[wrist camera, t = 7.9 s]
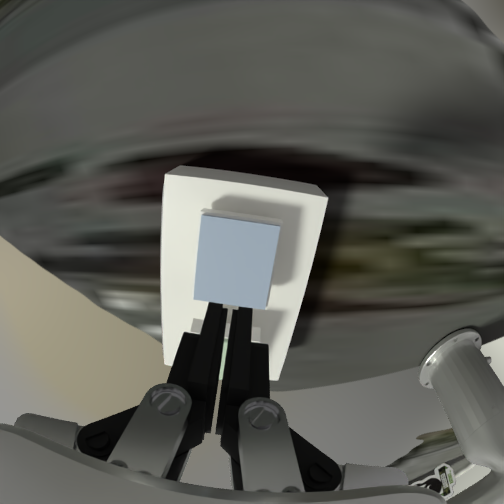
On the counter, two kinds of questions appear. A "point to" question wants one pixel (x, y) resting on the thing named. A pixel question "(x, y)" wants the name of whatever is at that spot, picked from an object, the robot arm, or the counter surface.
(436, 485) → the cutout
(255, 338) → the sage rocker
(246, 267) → the slate rocker
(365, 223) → the counter surface
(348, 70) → the counter surface
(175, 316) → the switch box
